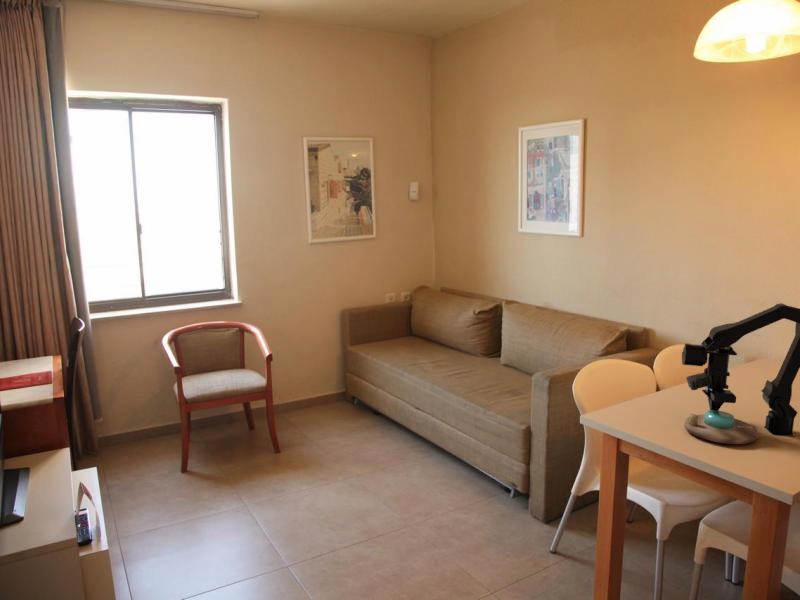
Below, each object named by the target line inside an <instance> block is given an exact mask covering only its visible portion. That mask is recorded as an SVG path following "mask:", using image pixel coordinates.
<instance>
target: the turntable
mask: <svg viewBox="0 0 800 600" xmlns="http://www.w3.org/2000/svg"><path fill="white" fill-rule="evenodd" d="M704 420H705V414H695V413H690V414H689V416H688V417H686V418H685V419H684V428H685V430H686V431H687V432H688V433H690V434H692V435H693V436H695V437H698V438H701V439H703V440H707V441H711V442H715V443H720V444H726V445H727V444H728V445H729V444H730V445H746V444H751V443H754V442H756V441H757V440H758V437H759V436H758V435H759V431H758V429H757V428H756V427H755V426H753V425H752V424H750V423H748V422H745V421H743V420H740V419H737V418H734V424H733V428H730V429H719V428H714V427H711V426H708V425H706V424H705V423H704Z"/></svg>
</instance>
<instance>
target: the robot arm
mask: <svg viewBox="0 0 800 600" xmlns="http://www.w3.org/2000/svg"><path fill="white" fill-rule="evenodd" d="M783 319H785V320H788V321H791V322H795V333H794V334H795V335H794V338H793V340H792V342H791V344H790V346H789V349H788V351H787V352H786V355H785V357H784V360H783V362H782V364H781V367H780V369H779V371H778V373H777V375H776V377H775V378H774V379H772V381H771V380H768V379H766V381H765V384H764V387H763V389H761V392H762V399H763V401H764V402H765V404H766V405H767V406H768V407H769V408H768V409H770V410H768V413H767V415H766V416H765V425H764V429H765V430H766V431H767V432H768V433H770V434H771V435H772V434H773V435H772V436H783V435H793V434H794V435H795V436H796V434H795V433H794V432H793V431H794V423H795V418H796V416H797V414H798V411H797V410H796V409H795V408H794V407H793V406H792V405H791V401H792V396H793V383H794V381H795V379H796V376H797V374H798V372H799V371H800V308H799V307H795V306H790V305H786V304H784V303H776V304H775V305H773V306H772V307H769V308H767V309H764V310H762V311H760V312H758V313H755V314H753V315H750V316H748V317H746V318H744V319H741V320H739V321H736V322H732V323H724V324H721V325H717V326H713V328H711V329H710V330H709V333H708V335H707V337H706V338H705V339H704V340H703V341H702V342H701V343H700V344H693V343H686V342H685V343H684V347H683V349H682V351H681V365H683V366H691V367H692V366H694V367H703V366H706V364H707V367H705V368H704V369H703V372H701V373H696V374H693V375H689V376H687V377H686V382H687V385H688V388H690V389H691V391H696V390H698V389H702V388H704V389H702V390H701V391H702V392H703V393H704V394H705V396H706V397H707V401H708V405H709V407H708V408H709V410H718V411H720V409H721V407H722V406H723V405H724V404H725V403H727V404H735V403H736V401H737V396H736V394H735V393H733V392H732V391H731V390H730V389H729V385H728V384H727V382H728V381H727V380H728V377H730V375H731V373H730V371H728V370H729V365H730V364H729V363H730V356H738V353H737V352H736V351H735V350H734V349H733V347H732V346H733V345H734V344H735V343H737V342H739V340H741V339H742V338H743V337H745V336H746V335H748V334H750V333H753V332H755V331H758V330H760V329H763V328H764V327H767V326H770V325H772V324H774V323H776V322H779V321H781V320H783Z"/></svg>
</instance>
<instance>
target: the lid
mask: <svg viewBox="0 0 800 600" xmlns="http://www.w3.org/2000/svg"><path fill="white" fill-rule="evenodd" d="M704 415H705V420H704V423H705V424H706V425H708V426H711V427H714V428H719V429H730V428H733V424H734V419H735V416H734V414H732V413H729V412H727V411H722V410H710V409H709V410H706V411H705V413H704Z"/></svg>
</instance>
